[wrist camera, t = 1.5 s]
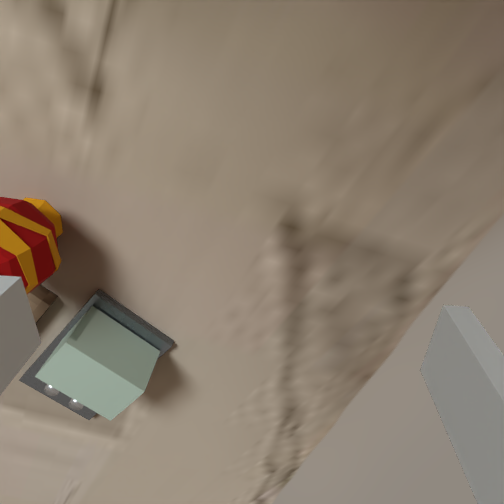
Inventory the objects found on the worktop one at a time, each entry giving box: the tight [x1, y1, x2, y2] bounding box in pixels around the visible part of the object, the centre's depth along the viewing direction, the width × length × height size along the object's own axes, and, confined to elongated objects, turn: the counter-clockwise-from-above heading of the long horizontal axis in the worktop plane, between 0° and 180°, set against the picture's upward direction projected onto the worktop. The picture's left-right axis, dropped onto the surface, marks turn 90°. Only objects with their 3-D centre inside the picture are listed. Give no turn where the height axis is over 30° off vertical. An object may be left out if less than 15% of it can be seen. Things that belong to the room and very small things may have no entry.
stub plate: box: [19, 289, 174, 420], centre depth 48 cm, size 11×20×4 cm, turn 137°
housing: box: [35, 306, 160, 421], centre depth 44 cm, size 10×7×6 cm
